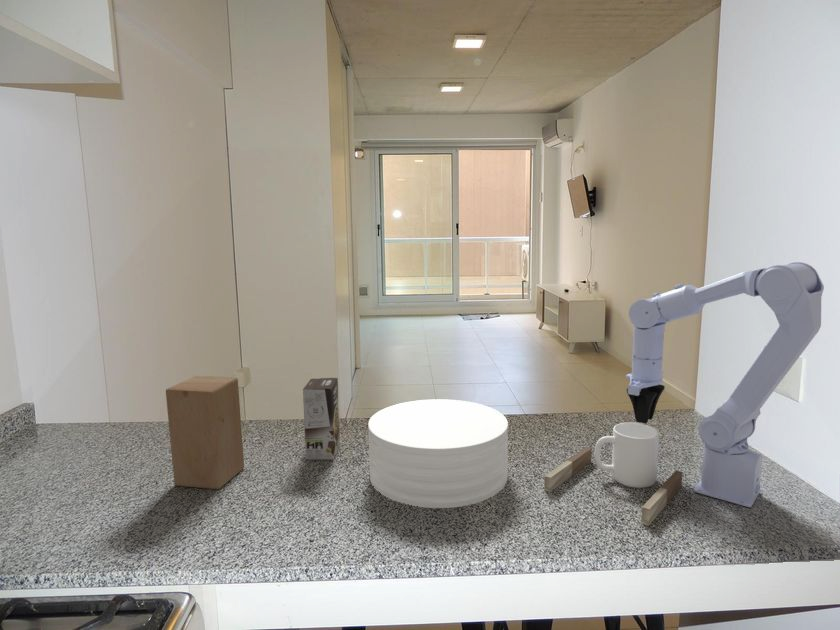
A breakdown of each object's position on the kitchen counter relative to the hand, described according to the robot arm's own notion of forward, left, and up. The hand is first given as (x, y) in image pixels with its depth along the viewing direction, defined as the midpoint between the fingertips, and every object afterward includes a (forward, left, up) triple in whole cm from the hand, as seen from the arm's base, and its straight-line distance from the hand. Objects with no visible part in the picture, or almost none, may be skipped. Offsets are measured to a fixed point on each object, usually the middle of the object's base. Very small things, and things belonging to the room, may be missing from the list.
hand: (644, 420), depth 115 cm
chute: (0, +15, -9) cm, 18 cm away
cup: (0, +10, -10) cm, 14 cm away
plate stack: (+30, +31, -10) cm, 44 cm away
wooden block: (+65, +62, -10) cm, 90 cm away
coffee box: (+57, +39, -10) cm, 70 cm away
